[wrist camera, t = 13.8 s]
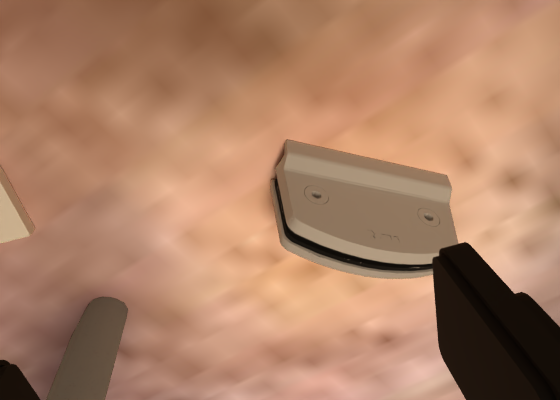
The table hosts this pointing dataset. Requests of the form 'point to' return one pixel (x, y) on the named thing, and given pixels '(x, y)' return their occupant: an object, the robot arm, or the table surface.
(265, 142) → the table surface
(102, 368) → the grey upright block
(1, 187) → the board
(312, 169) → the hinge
